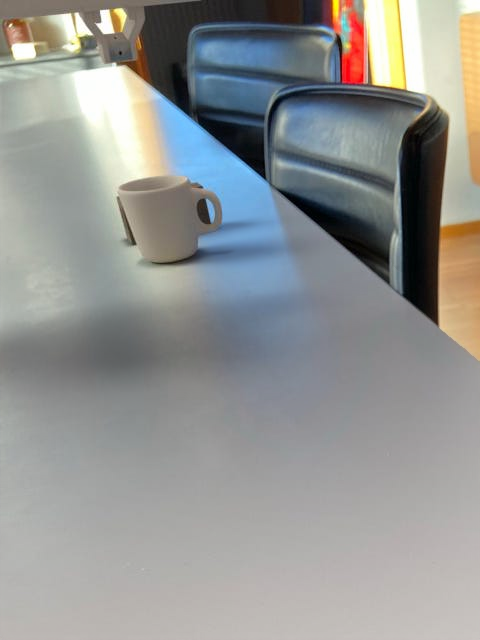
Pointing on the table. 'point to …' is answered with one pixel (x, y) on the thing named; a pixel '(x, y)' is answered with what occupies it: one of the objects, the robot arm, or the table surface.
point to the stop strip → (201, 211)
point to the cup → (166, 216)
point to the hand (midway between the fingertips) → (119, 59)
